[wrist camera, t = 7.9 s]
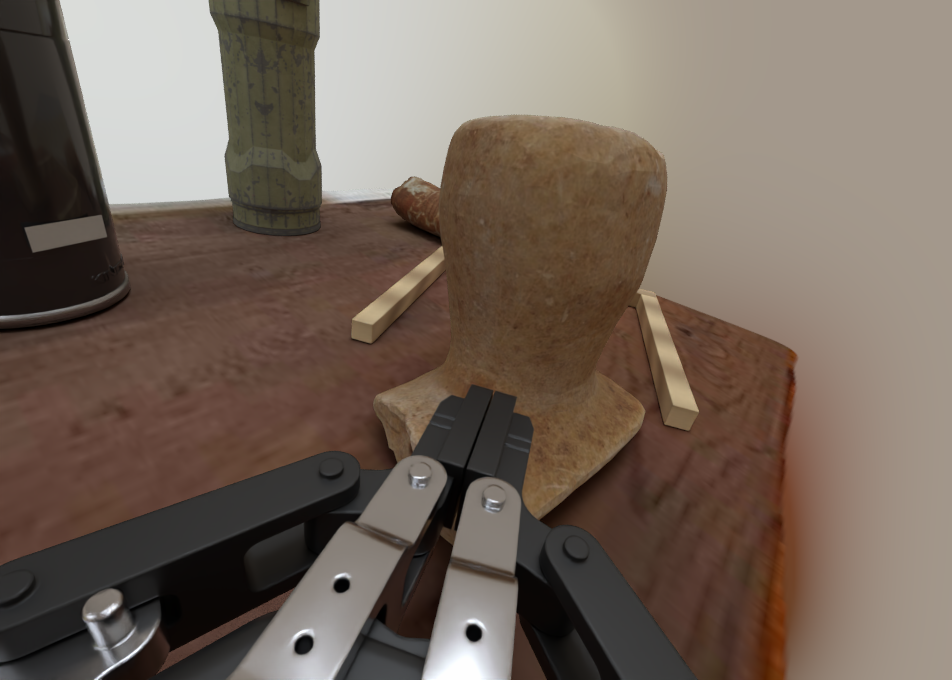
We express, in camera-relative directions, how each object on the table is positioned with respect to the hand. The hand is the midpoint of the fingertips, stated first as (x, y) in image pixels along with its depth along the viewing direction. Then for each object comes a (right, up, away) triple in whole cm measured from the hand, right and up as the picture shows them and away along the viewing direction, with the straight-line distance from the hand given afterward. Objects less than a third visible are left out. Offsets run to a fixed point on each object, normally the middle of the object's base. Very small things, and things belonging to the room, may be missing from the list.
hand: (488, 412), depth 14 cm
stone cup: (+1, -3, +10) cm, 10 cm away
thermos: (-22, +15, +33) cm, 43 cm away
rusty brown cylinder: (-3, +14, +38) cm, 41 cm away
